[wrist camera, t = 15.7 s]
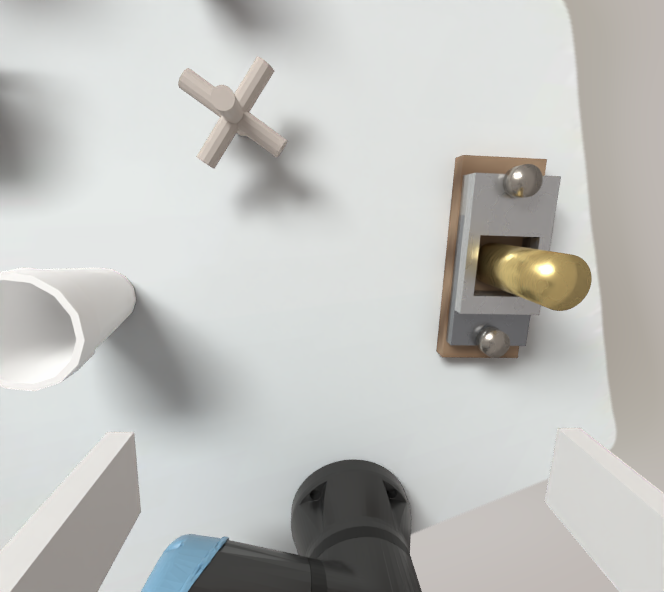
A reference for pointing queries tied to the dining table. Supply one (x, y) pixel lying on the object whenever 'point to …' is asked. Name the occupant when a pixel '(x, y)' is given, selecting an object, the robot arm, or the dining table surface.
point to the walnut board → (465, 167)
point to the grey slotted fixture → (497, 220)
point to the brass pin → (535, 274)
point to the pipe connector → (233, 111)
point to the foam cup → (56, 321)
